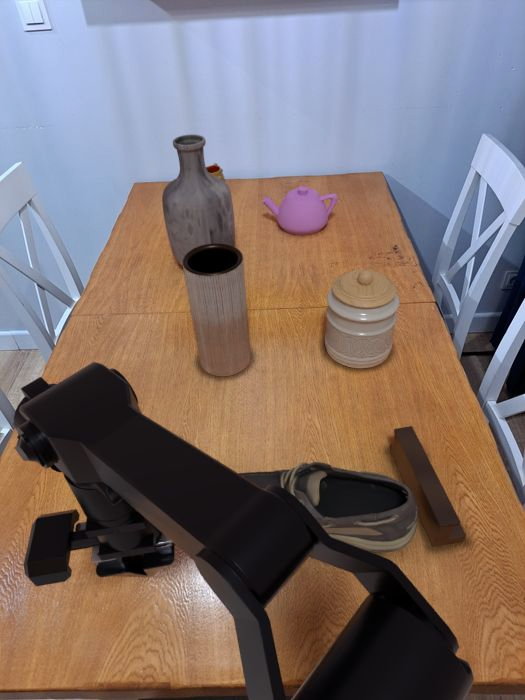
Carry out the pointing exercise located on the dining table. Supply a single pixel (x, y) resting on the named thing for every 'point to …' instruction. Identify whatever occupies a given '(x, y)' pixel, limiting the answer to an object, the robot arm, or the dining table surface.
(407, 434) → the dark walnut bar
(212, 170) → the mug
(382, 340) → the jar
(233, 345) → the planter
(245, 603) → the robot arm
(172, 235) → the vase
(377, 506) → the boat shoe
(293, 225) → the teapot
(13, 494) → the dining table surface
